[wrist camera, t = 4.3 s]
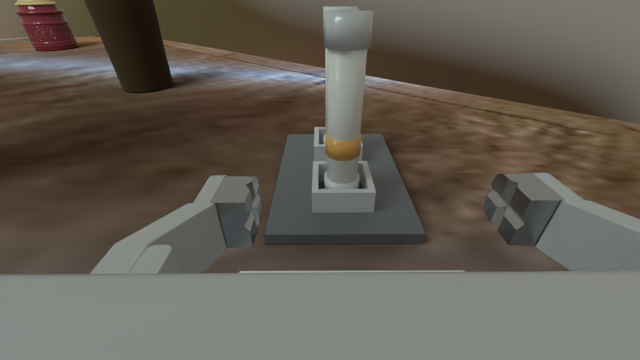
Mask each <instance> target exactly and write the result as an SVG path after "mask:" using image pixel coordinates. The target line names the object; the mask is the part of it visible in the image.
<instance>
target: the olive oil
mask: <svg viewBox="0 0 640 360" xmlns="http://www.w3.org/2000/svg"><path fill="white" fill-rule="evenodd" d="M84 1H85V4H86V6H87V8H88V10H89V13H90V15H91V17H92V19H93V22H94V24H95V26H96V28H97V30H98V33H99V35H100V37H101V39H102V42H103V44H104V46H105V48H106V51H107V53H108V55H109V57H110V60H111V62H112V64H113V67H114V69H115V71H116V74H117V76H118V79H119V81H120V83H121V86H122V88H123V90H124V91H126V92H131V93H143V92H152V91H158V90H162V89H165V88H168V87H170V86H172V85H173V81H172V77H171V73H170V69H169V65H168V62H167V58H166V53H165V49H164V45H163V41H162V37H161V33H160V28H159V24H158V19H157V15H156V11H155V6H154V2H153V0H84Z"/></svg>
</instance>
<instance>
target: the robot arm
mask: <svg viewBox="0 0 640 360" xmlns="http://www.w3.org/2000/svg"><path fill="white" fill-rule="evenodd" d="M491 185H492V187H493V189H494V190H493V191H492V192H491V193H490V194H488V195H487V198H486V201H485V213H486V215H487V217H488V219H489V220H490V221H491V222H492V223H494V224H496V225H497V226H499V227H498V232H499V233H500V235H501V236H502V237H503V238H504V240H505V241H506V242H507V244H508V245H520V246H536V248H538V249H539V250H541V251H542V252H544V253H545V254H547V255H548V256H550V257H551V258H552V259H554V260H555V261H557V262H558V263H560V264H561V265H563V266H564V267H566V268H567V269H569V270H570V271H526V272H339V273H203V272H204V271H205V270H206V269H207V268H208V267H209V266H210V265H211V264H212V263H213V262H214V261H215V260H216V259H217V258H218V257H219V256H220V255H221V254H223V253H224V252H225V251H226V250H227V248H233V247H253V245H254V241H255V238H256V234H257V229H256V226H257V225H258V224H259V223H260V219H261V211H262V206H261V197H260V196H259V195H258V194H257V191H258V188H259V185H258V179H257V177H256V176H245V175H227V176H226V175H212V176H210V177H209V178H208V180H207V181H206V183H205V185H204V186H203V188H202V189H201V191H200V193H199V194H198V196H197V197H196V199H195V201H194V202H193V203H188V204H186V205H184V206H182V207H181V208H179V209H177V210H175V211H173V212H172V213H170V214H168V215H166V216H164V217H163V218H161V219H159V220H157V221H155V222H153V223H152V224H150V225H148V226H146V227H144V228H143V229H141V230H139V231H137V232H135V233H134V234H132V235H130V236H128V237H126V238H125V239H123V240H121V241H119V242H117V243H115V244H114V245H113V247H112V248H111V249H110V250H109V251H108V253H107V254H106V255H105V256H104V257H103V259H102V260H101V261H100V262H99V263H98V264H97V266H96V267H95V268H94V269H93V270H92V272H91V273H90V274H0V360H640V219H637V218H635V217H632V216H629V215H627V214H624V213H621V212H619V211H616V210H613V209H611V208H608V207H605V206H603V205H600V204H597V203H595V202H592V201H589V200H583V199H582V198H580V197H579V196H578V195H576V194H575V193H574V192H572V191H571V190H570V189H568V188H567V187H566V186H565V185H563V184H562V183H561V182H559V181H558V180H557V179H555V178H554V177H553V176H551V175H550V174H547V173H522V174H497V176H496V177H495V178H494V180H493V182H492V184H491Z"/></svg>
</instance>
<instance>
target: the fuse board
mask: <svg viewBox="0 0 640 360" xmlns="http://www.w3.org/2000/svg"><path fill="white" fill-rule="evenodd" d="M324 134H325V127H315V131H314V134H288V136H287V141H286V145H285V149H284V153H283V158H282V162H281V166H280V170H279V175H278V179H277V183H276V187H275V191H274V196H273V200H272V204H271V208H270V213H269V217H268V221H267V225H266V230H265V234H264V236H265V242H266V244H423V243H424V240H425V236H426V233H425V230H424V228H423V226H422V224H421V221H420V219H419V217H418V215H417V212H416V210H415V208H414V205H413V203H412V201H411V199H410V196H409V194H408V192H407V190H406V187H405V185H404V183H403V181H402V178H401V176H400V174H399V171H398V169H397V167H396V165H395V162H394V160H393V158H392V156H391V153H390V151H389V149H388V147H387V144H386V142H385V140H384V137H383V135H382V134H362V137H361V150H360V156H359V159H358V173H359V176H360V177H359V189H324V174H325V172H326V171H327V155H326V153H325V144H323V136H324Z"/></svg>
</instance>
